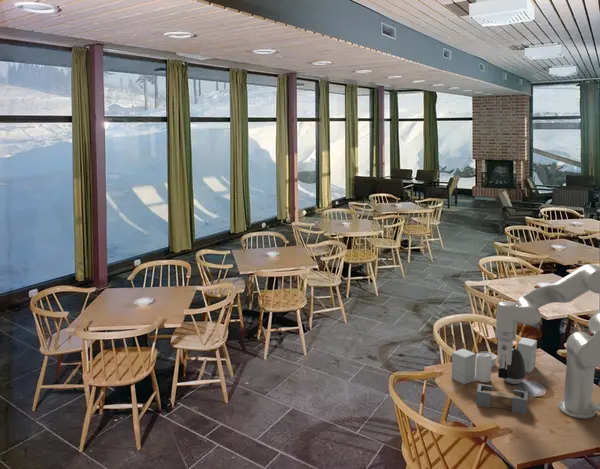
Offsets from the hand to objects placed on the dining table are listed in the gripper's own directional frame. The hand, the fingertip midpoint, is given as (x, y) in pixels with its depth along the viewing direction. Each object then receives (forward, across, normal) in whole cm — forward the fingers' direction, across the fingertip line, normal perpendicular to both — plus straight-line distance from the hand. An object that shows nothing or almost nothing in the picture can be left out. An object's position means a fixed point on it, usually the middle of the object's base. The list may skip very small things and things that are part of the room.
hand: (502, 377), depth 207 cm
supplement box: (+13, +17, +17) cm, 27 cm away
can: (+12, +20, +9) cm, 25 cm away
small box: (+12, +39, -8) cm, 42 cm away
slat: (+12, 0, 0) cm, 13 cm away
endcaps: (+12, 0, 0) cm, 12 cm away
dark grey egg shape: (+12, +23, -3) cm, 26 cm away
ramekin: (+13, +37, +9) cm, 40 cm away
